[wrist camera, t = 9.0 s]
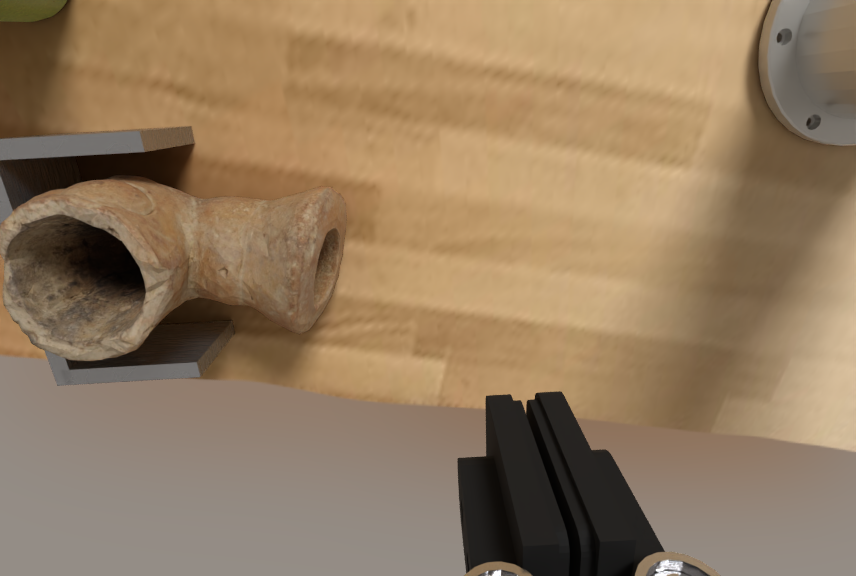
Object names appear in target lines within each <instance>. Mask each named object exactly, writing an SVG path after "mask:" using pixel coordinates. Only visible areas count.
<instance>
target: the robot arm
mask: <svg viewBox="0 0 856 576" xmlns="http://www.w3.org/2000/svg"><path fill="white" fill-rule="evenodd" d="M758 68H759V75H760V82H761V88H762V90H763V93H764V96H765V98H766V101H767V104H768V106H769V107H770V109H771V110H772V112H773V113H774V115H775V116H776V118H777V119H778V120H779V121H780V122H781V123H782V124H783V125H784V126H785V127H786V128H787V129H788V130H789V131H791V132H792V133H794V134H796V135H798V136H800V137H802V138H803V139H805V140H809V141H813V142H817V143H820V144H828V145H838V146H848V145H856V0H772V2H771V5H770V8H769V10H768V13H767V16H766V18H765V21H764V24H763V29H762V34H761V39H760V44H759V63H758ZM458 483H459V501H460V515H461V526H462V535H463V546H464V555H465V564H466V574H465V575H464V576H720V575H719V574H718V573H717V572H716V571H715V570H714V569H712V568H711V567H709V566H707V565H706V564H705V563H703V562H701V561H700V560H697V559H695V558H693V557H690V556H688V555H685V554H679V553H675V552H665V551H664V549H663V547H662V546H661V544H660V542H659V541H658V538H657V537H656V535H655V533H654V531H653V529H652V528H651V526H650V524H649V522H648V520H647V519H646V517H645V515H644V513H643V511H642V510H641V508H640V506H639V504H638V502H637V500H636V499H635V497H634V495H633V493H632V491H631V490H630V488H629V486H628V484H627V482H626V481H625V479H624V477H623V476H622V473H621V472H620V470H619V468H618V466H617V464H616V462H615V461H614V459H613V457H612V456H611V454H610V453H609V452H608V451H607V450H591V449H590V446H589V445H588V442H587V441H586V438H585V437H584V435H583V433H582V431H581V428H580V426H579V425H578V422H577V420H576V418H575V416H574V415H573V413H572V411H571V409H570V407H569V405H568V403H567V401H566V399H565V397H564V395H563V393H562V392H543V393H536V395H535V400H528V401H527V409H526V413H525V410H524V407H523V405H522V402H521V401H520V400H518V401H513V399H512V396H511V395H510V394H509V395H492V396H486V456H485V457H470V458H469V457H468V458H458Z"/></svg>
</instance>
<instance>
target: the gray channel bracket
mask: <svg viewBox="0 0 856 576" xmlns="http://www.w3.org/2000/svg"><path fill="white" fill-rule="evenodd" d="M194 143H195V142H194V137H193V133H192V128H191V126H189V127H171V128H154V129H136V130H119V131H101V132H84V133H66V134H50V135H37V136H24V137H11V138H0V225H1V223H2V222H3V221H4V220H6V219H7V218H8V217H9V216H10V215H11V214H12V212H13V210H15V209H16V208H17V207H19V206H20V205H21V204H24V203H26V202H27V201H29V200H30V199H32V198H33V197H35V196H38V195H40V194H43V193H45V192H48V191H51V190H56V189H67V188H68V187H70V186H72V185H75V184H77V183H81V182H82V178H81V175H80V172H79V168H78V165H77V162H76V158H75V156H83V155H100V154H118V153H135V152H147V151H153V150H159V149H165V148H171V147H176V146H182V145H188V144H194ZM234 334H235V331H234V326H233V321H232V320H231V321H214V322H197V323H180V324H163V325H157V326H156V327H155V328H154V329H153V330H152V331H151V332H150V334H149V335H148V336H147V338H146V339H145V341H144V342H143V344H142V345H141V346H140V347H139V348H138V349H137V350H134V351H132V352H129V353H127V354H124V355H121V356H118V357H114V358H106V359H103V360H95V361H78V360H68V359H66V358H63V357H60V356H57V355H55V354H53V353H51V352H49V351H46V350H45V353H46V356H47V358H48V361H49V364H50V366H51V369H52V372H53V375H54V377H55V380H56V383H57V385H58V386H60V385H77V384H93V383H109V382H127V381H143V380H160V379H177V378H193V377H201V376H202V374H203V373H204V372H205V371H206V369H207V368H208V367H209V366H210V364H211V363H212V362H213V360H214V359H215V358H216V357H217V355H218V354H219V353H220V352H221V350H222V349H223V348H224V347H225V345H226V344H227V343H228V341H229V340H230V339H231V338H232V336H233V335H234Z"/></svg>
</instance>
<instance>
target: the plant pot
mask: <svg viewBox="0 0 856 576" xmlns="http://www.w3.org/2000/svg"><path fill="white" fill-rule="evenodd" d="M66 2H67V0H0V21H7V22H34V21H38V20H42V19H45V18H49V17H52V16H53V15H55V14H56V13H57V12H59V11H60V10H61V9H62V8H63V6H64V5H65V3H66Z"/></svg>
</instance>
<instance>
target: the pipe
mask: <svg viewBox="0 0 856 576" xmlns="http://www.w3.org/2000/svg"><path fill="white" fill-rule="evenodd" d="M346 221H347V215H346V203H345V201H344V199H343V197H342V196H341V194H340V193H337V192H336V191H335V190H334V189H333V188H332V187H323V186H320V187H317V188H314V189H311V190H308V191H305V192H301V193H298V194H295V195H291V196H287V197H283V198H279V199H276V200H261V199H253V198H244V197H228V196H225V197H215V198H210V199H201V198H198V197H195V196H191V195H189V194H187V193H185V192H182V191H180V190H177V189H175V188H172V187H169V186H166V185H162V184H158V183H156V182H155V181H153V180H151V179H148V178H145V177H141V176H132V175H114V176H111V177H109V178H106V179H104V180H91V181H86V182H81V183H77V184H75V185H72V186H70V187H68V188H67V189H56V190H51V191H48V192H45V193H43V194H40V195H38V196H35V197H33V198H32V199H30V200H29V201H27V202H26V203H24V204H21V205H20V206H19V207H17V208H16V209H15V210H13V212H12V214H11V215H10V216H9V217H8V218H7V219H6V220H4V221H3V222H2V223H1V225H0V254H1V256H2V258H3V259H4V261H5V263H4V284H3V303H4V306H5V307H6V309H7V310H8V312H9V314H10V315H11V317H12V319H13V321H14V322H16V323H17V324H19V326H20V328H21V330H22V332H23V333H25V334H26V335H28V337H29V339H30V341H31V343H32V344H33V345H35V346H37V347H38V348H40V349H43V350H46V351H49V352H51V353H53V354H55V355H57V356H60V357H63V358H66V359H68V360H78V361H95V360H103V359H106V358H114V357H118V356H121V355H124V354H127V353H129V352H132V351H134V350H137V349H138V348H139V347H140V346H141V345H142V344H143V342H144V341H145V339H146V338H147V336H148V335H149V334H150V332H151V331H152V330H153V329H154V328H155V327H156V326H157V325H158V323H159V322H160V321H161V320H162V319H163V318H164V317H166V316H167V315H168V314H169V313H170V312H171V311H172V310H173V309H175V308H177V307H179V306H180V305H181V304H182V303H184V302H185V301H187V300H191V299H195V298H198V297H200V298H207V299H211V300H215V301H218V302H222V303H225V304H228V305H249V306H250V307H252V308H254V309H256V310H257V311H259V312H260V313H262V314H263V315H265V316H266V317H267V318H268V319H270V320H271V321H273V322H275V323H276V324H278V325H280V326H282V327H284V328H286V329H288V330H290V331H292V332H294V333H298V334H301V333H303V332H306V331H308V330H309V329H310V328H311V327H312V325H313V324H314V323H315V321H317V319H318V317H319V316H320V315H321V314H322V312H323V310H324V309H325V307H326V305H327V303H328V301H329V300H330V298H331V296H332V294H333V291H334V288H335V284H336V281H337V279H338V276H339V268H340V264H341V259H342V255H343V247H344V239H345V231H346Z"/></svg>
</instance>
